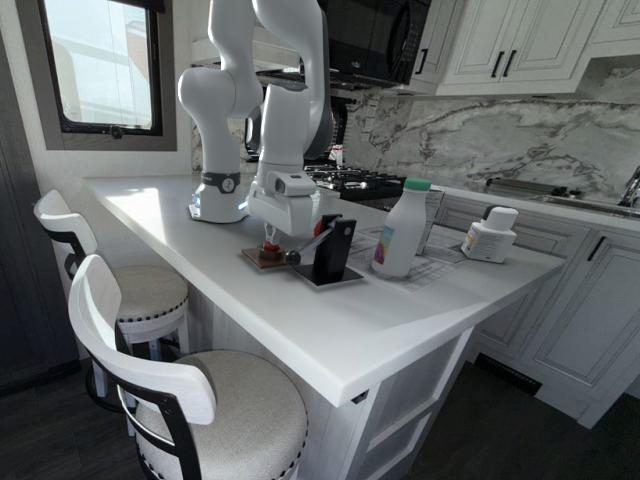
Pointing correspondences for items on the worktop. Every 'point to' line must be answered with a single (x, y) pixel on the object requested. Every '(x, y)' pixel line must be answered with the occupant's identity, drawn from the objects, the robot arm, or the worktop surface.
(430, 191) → the candy bar box
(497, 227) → the container
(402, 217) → the milk bottle
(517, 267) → the worktop surface
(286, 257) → the lever
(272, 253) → the button block
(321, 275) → the bracket
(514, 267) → the worktop surface
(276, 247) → the button
